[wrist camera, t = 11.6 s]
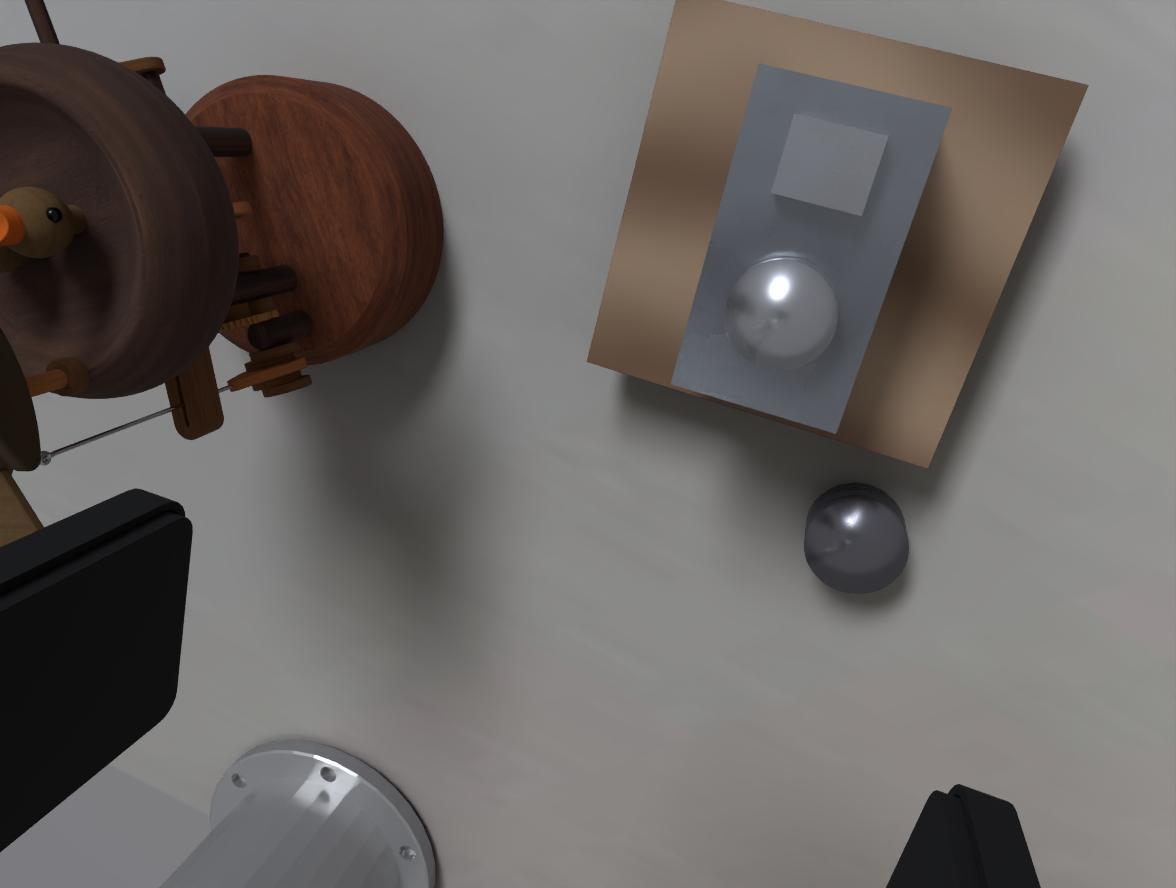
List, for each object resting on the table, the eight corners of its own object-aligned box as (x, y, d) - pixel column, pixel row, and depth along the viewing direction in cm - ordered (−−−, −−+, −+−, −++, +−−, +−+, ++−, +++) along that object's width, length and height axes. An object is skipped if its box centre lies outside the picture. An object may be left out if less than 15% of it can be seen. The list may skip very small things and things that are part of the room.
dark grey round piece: (884, 582, 34) (886, 607, 32) (793, 550, 34) (790, 573, 32) (919, 500, 32) (924, 521, 30) (824, 469, 33) (823, 488, 31)
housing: (936, 114, 26) (957, 105, 21) (836, 398, 29) (835, 444, 24) (770, 75, 26) (755, 59, 22) (691, 355, 30) (664, 392, 25)
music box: (514, 328, 34) (81, 552, 17) (313, 410, 39) (-189, 652, 21) (344, -65, 31) (-397, -295, 14) (148, 75, 36) (-587, 37, 19)
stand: (920, 441, 31) (927, 468, 29) (607, 345, 34) (586, 361, 31) (1063, 92, 27) (1088, 85, 24) (693, 5, 29) (678, -10, 26)
